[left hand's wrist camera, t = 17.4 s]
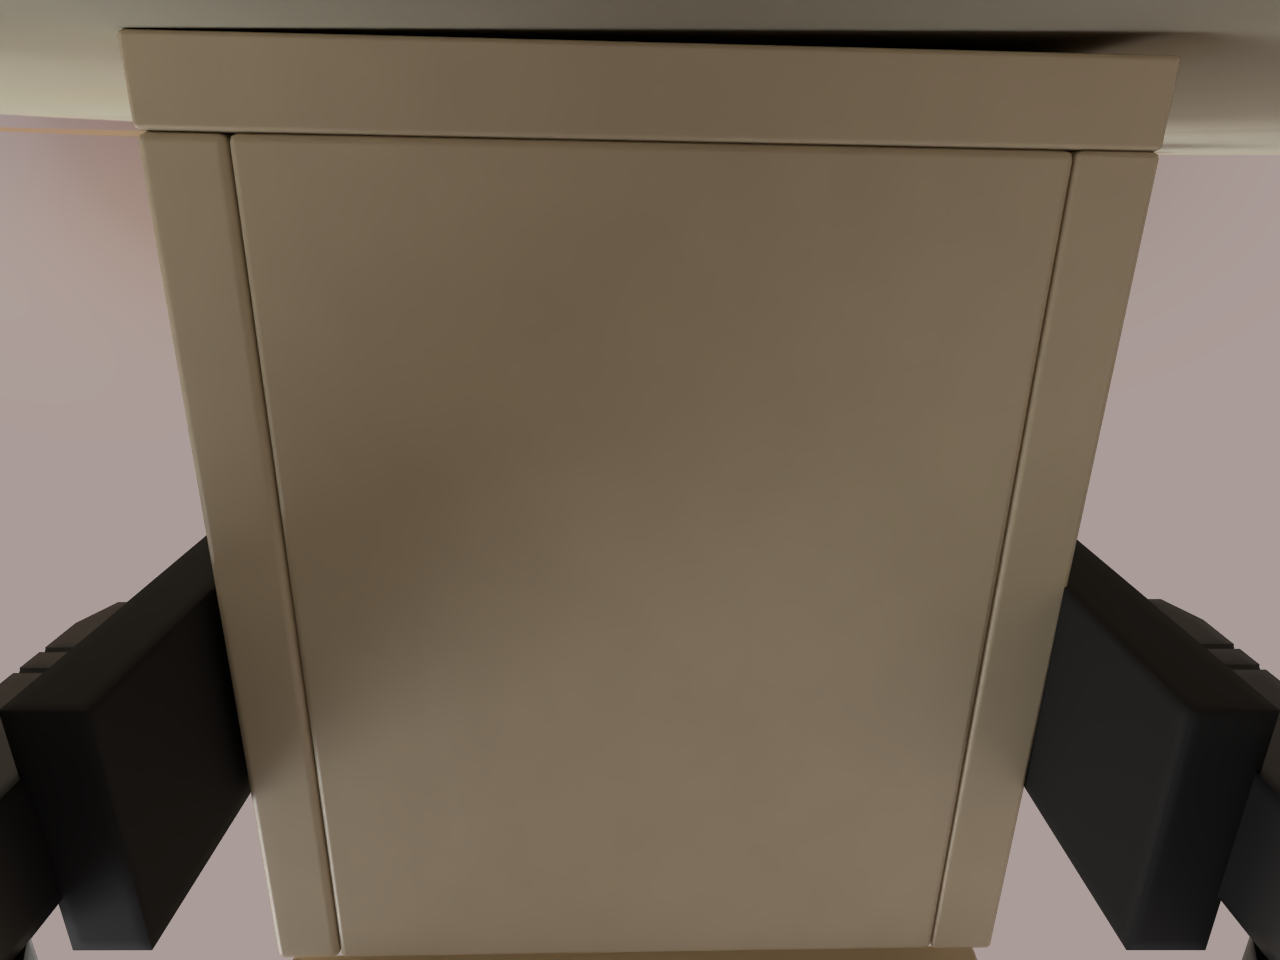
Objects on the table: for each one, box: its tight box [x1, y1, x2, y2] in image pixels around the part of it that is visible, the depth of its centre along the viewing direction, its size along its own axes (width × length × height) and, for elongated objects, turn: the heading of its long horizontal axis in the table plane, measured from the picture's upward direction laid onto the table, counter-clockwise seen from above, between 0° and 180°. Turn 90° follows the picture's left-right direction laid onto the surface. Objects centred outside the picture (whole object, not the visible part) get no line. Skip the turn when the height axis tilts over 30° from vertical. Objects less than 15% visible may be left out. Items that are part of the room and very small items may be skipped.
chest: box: [118, 29, 1180, 957], centre depth 15 cm, size 13×9×10 cm
